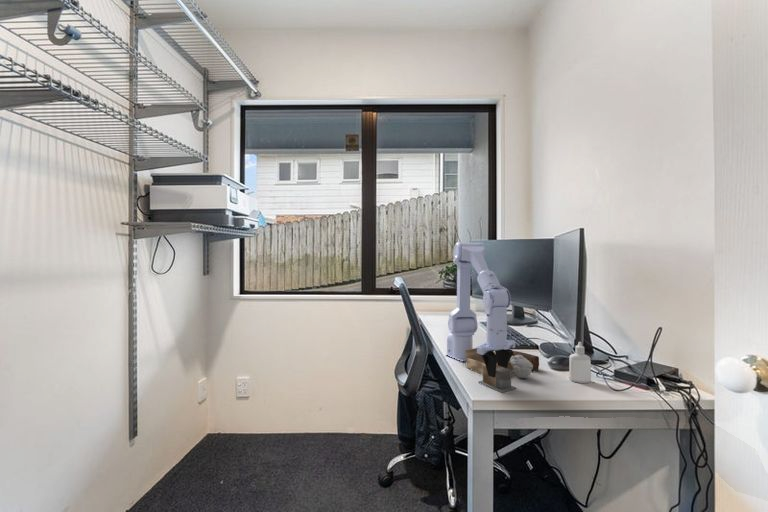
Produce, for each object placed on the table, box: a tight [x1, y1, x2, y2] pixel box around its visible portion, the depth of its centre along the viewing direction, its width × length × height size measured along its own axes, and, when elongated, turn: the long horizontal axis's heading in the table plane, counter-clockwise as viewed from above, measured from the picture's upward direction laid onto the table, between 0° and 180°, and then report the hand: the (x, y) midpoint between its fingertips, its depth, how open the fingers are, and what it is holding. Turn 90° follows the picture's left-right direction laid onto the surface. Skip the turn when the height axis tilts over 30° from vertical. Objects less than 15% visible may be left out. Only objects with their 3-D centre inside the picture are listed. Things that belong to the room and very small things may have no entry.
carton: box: [465, 347, 515, 375], centre depth 116 cm, size 11×16×6 cm
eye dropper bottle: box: [568, 341, 592, 384], centre depth 104 cm, size 4×6×12 cm
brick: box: [512, 350, 540, 373], centre depth 118 cm, size 11×4×5 cm, turn 34°
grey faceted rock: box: [510, 355, 533, 379], centre depth 107 cm, size 6×7×7 cm
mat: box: [478, 379, 517, 394], centre depth 101 cm, size 9×6×1 cm, turn 31°
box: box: [482, 365, 512, 390], centre depth 101 cm, size 7×4×5 cm, turn 31°
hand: (496, 374), depth 101 cm, fingers closed on box, 4 cm apart
